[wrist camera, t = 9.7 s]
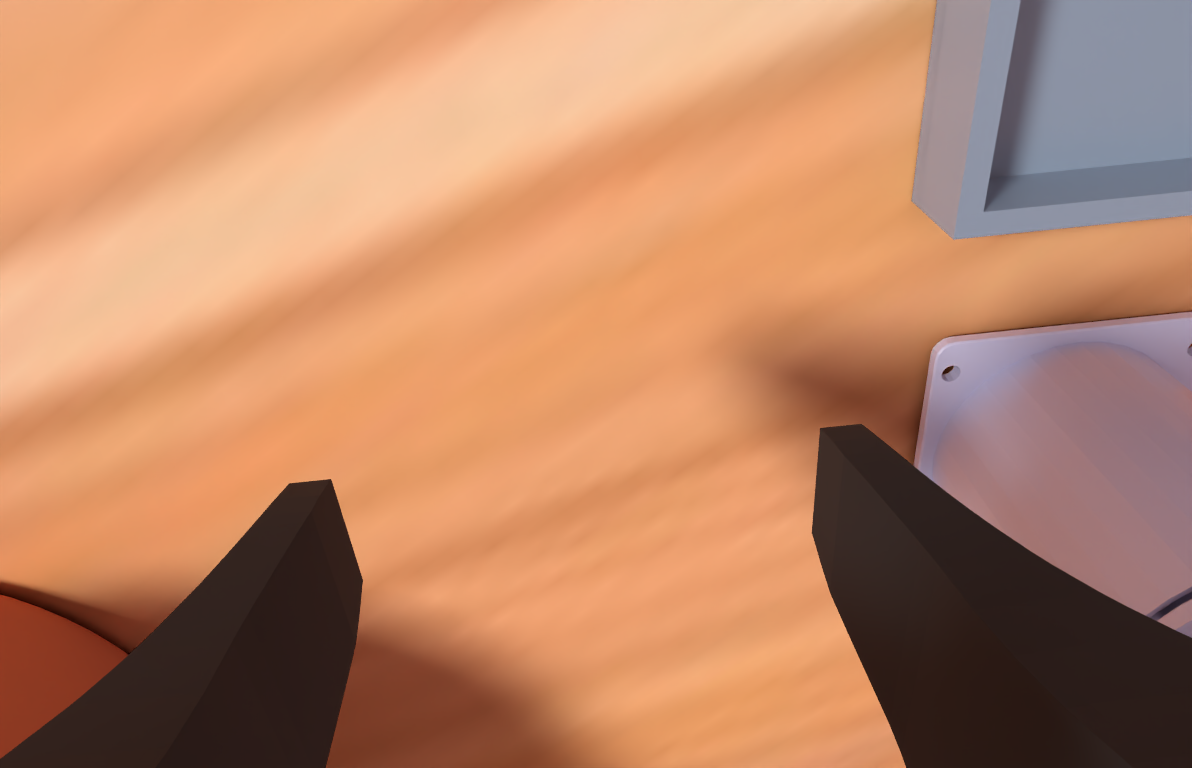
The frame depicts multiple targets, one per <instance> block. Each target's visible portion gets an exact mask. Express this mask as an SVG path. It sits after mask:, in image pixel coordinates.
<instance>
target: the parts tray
mask: <svg viewBox="0 0 1192 768" xmlns="http://www.w3.org/2000/svg"><path fill="white" fill-rule="evenodd" d="M912 202H913V203H914V204H915V205H916V206H918V207H919V208H920V209H921V210H922V211H923V212H924V213H925V214H926V215H927V216H928V217H929V218H931V219H932V220H933V221H934V222H935V223H936V224H937V225H938V226H939V227H940V228H941V229H942V230H944V231H945V232H946V233H947V234H948V235H949V236H950V237H951V238H952V239H963V238H973V237H983V236H993V235H1002V234H1012V233H1022V232H1032V231H1041V230H1051V229H1061V228H1071V227H1081V226H1090V225H1100V224H1110V223H1120V222H1130V221H1139V220H1149V219H1159V218H1169V217H1179V216H1188V215H1192V0H937V5H936V13H935V21H934V29H933V36H932V44H931V52H930V60H929V68H928V76H927V84H926V92H925V99H924V107H923V115H922V123H921V131H920V139H919V147H918V155H917V162H916V170H915V178H914V186H913V194H912Z"/></svg>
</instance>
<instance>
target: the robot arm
mask: <svg viewBox="0 0 1192 768" xmlns="http://www.w3.org/2000/svg"><path fill="white" fill-rule="evenodd" d="M1190 344H1192V312H1183V313H1173V314H1164V315H1154V316H1144V317H1135V318H1125V319H1116V320H1106V321H1096V322H1087V323H1077V324H1067V325H1058V326H1048V327H1039V328H1029V329H1019V330H1010V331H1000V332H990V333H981V334H971V335H962V336H952V337H948V338H944V339H942V340H941V341H939V342H938V343H937V344H936V345H935V346H934V347H933V350H932V352H931V356H930V363H929V369H928V375H927V382H926V388H925V395H924V401H923V408H922V414H921V420H920V427H919V433H918V440H917V446H916V453H915V459H914V465H912V464H911V463H909V462H908V461H907V460H906V459H904V458H903V457H902V456H901V455H899V454H898V453H897V452H896V451H895V450H893V449H892V448H891V447H890V446H888V445H887V444H886V443H885V442H884V441H882V440H881V439H880V438H879V437H877V436H876V435H875V434H874V433H872V432H871V431H870V430H869V429H867V428H866V427H865V426H863V425H862V424H856V425H846V426H837V427H827V428H820V438H819V451H818V463H817V476H816V488H815V500H814V513H813V525H812V534H813V538H814V541H815V545H816V548H817V551H818V555H819V558H820V562H821V565H822V568H823V572H824V575H825V578H826V581H827V584H828V587H829V591H830V593H831V596H832V598H833V600H834V603H835V605H836V607H837V609H838V612H839V614H840V616H841V618H842V621H843V623H844V625H845V627H846V629H847V632H848V634H849V636H850V638H851V641H852V643H853V645H854V647H855V649H856V652H857V654H858V656H859V658H860V660H861V663H862V665H863V667H864V669H865V671H866V674H867V676H868V678H869V680H870V682H871V685H872V687H873V689H874V691H875V693H876V696H877V698H878V700H879V702H880V704H881V707H882V709H883V711H884V713H885V715H886V718H887V720H888V722H889V724H890V727H891V729H892V732H893V734H894V736H895V739H896V741H897V744H898V746H899V749H900V751H901V754H902V757H903V760H904V762H905V765H906V768H1192V346H1191V347H1190V348H1188V347H1189V346H1190ZM949 366H954V368H953V370H951V371H950V372H949V373H947V374H942V373H943V371H944V370H945V369H946V368H947V367H949ZM362 583H363V579H362V576H361V573H360V570H359V566H358V563H357V560H356V557H355V554H354V551H353V547H352V544H351V541H350V538H349V535H348V532H347V528H346V525H345V522H344V519H343V516H342V512H341V509H340V506H339V503H338V500H337V497H336V493H335V490H334V487H333V484H332V481H331V479H328V480H319V481H309V482H299V483H290V484H289V485H288V486H287V487H286V488H285V489H284V490H283V491H282V492H281V493H280V494H279V496H278V497H277V498H276V499H275V500H274V501H273V502H272V503H271V505H270V506H269V507H268V508H267V509H266V510H265V512H264V513H263V514H262V515H261V516H260V517H259V518H258V520H257V521H256V522H255V523H254V524H253V525H252V526H251V528H250V529H249V530H248V531H247V532H246V533H245V534H244V536H243V537H242V538H241V539H240V540H239V541H238V542H237V544H236V545H235V546H234V547H233V548H232V549H231V550H230V551H229V553H228V554H227V555H226V556H225V557H224V558H223V559H222V560H221V561H220V563H219V564H218V565H217V566H216V567H215V568H214V569H213V570H212V571H211V573H210V574H209V575H208V576H207V577H206V578H205V579H204V580H203V581H202V582H201V584H200V585H199V586H198V587H197V588H196V589H195V590H194V591H193V592H192V593H191V594H190V595H189V596H188V597H187V598H186V599H185V600H184V601H183V602H182V603H181V604H180V605H179V606H178V607H177V608H176V609H175V610H174V611H173V612H172V613H171V614H170V615H169V616H168V617H167V618H166V619H165V620H164V621H163V622H162V623H161V624H160V625H159V626H158V627H157V628H156V629H155V630H154V631H153V632H152V633H151V634H150V635H149V636H148V637H147V638H146V639H145V640H144V641H143V642H142V643H141V644H140V645H139V646H138V647H137V648H136V649H134V650H133V651H132V652H131V653H130V654H129V655H128V656H127V657H126V658H125V659H123V660H122V661H121V662H120V663H119V664H118V665H117V666H116V667H115V668H113V669H112V670H111V671H110V672H109V673H108V674H106V675H105V676H104V677H103V678H102V679H101V680H99V681H98V682H97V683H96V684H95V685H94V686H92V687H91V688H90V689H89V690H88V691H87V692H86V693H84V694H83V695H82V696H81V697H80V698H78V699H77V700H76V701H75V702H73V703H72V704H71V705H70V706H69V707H67V708H66V709H65V710H63V711H62V712H61V713H59V714H58V715H57V716H55V717H54V718H53V719H52V720H50V721H49V722H48V723H46V724H45V725H44V726H42V727H41V728H40V729H39V730H37V731H36V732H35V733H33V734H32V735H31V736H29V737H28V738H27V739H25V740H24V741H23V742H22V743H20V744H19V745H18V746H16V747H15V748H14V749H12V750H11V751H10V752H9V753H7V754H6V755H5V756H3V757H2V758H1V759H0V768H326V764H327V760H328V756H329V751H330V747H331V743H332V739H333V735H334V731H335V727H336V723H337V719H338V715H339V711H340V707H341V703H342V699H343V695H344V691H345V687H346V683H347V679H348V675H349V671H350V666H351V662H352V658H353V654H354V649H355V645H356V638H357V630H358V622H359V614H360V603H361V593H362Z"/></svg>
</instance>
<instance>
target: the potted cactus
mask: <svg viewBox="0 0 1192 768" xmlns="http://www.w3.org/2000/svg"><path fill="white" fill-rule="evenodd" d="M127 656H128V654H127V653H125V652H124V651H122V650H121V649H119V648H118V647H117V646H115V645H114V644H112V643H110V642H109V641H107V640H105V639H103V638H102V637H100V636H98V635H97V634H95V633H93V632H92V631H90V630H88V629H86V628H84V627H82V626H80V625H78V624H76V623H74V622H72V621H70V620H68V619H66V618H64V617H61V616H59V615H57V614H54V613H52V612H49V611H47V610H45V609H42V608H40V607H37V606H34V605H31V604H29V603H26V602H23V601H20V600H17V599H14V598H11V597H8V596H4V595H0V759H1V758H2V757H3V756H5V755H6V754H7V753H9V752H10V751H11V750H12V749H14V748H15V747H16V746H18V745H19V744H20V743H22V742H23V741H24V740H25V739H27V738H28V737H29V736H31V735H32V734H33V733H35V732H36V731H37V730H39V729H40V728H41V727H42V726H44V725H45V724H46V723H48V722H49V721H50V720H52V719H53V718H54V717H55V716H57V715H58V714H59V713H61V712H62V711H63V710H65V709H66V708H67V707H69V706H70V705H71V704H72V703H73V702H75V701H76V700H77V699H78V698H80V697H81V696H82V695H83V694H84V693H86V692H87V691H88V690H89V689H90V688H91V687H92V686H94V685H95V684H96V683H97V682H98V681H99V680H101V679H102V678H103V677H104V676H105V675H106V674H108V673H109V672H110V671H111V670H112V669H113V668H115V667H116V666H117V665H118V664H119V663H120V662H121V661H122V660H123V659H125V658H126V657H127Z"/></svg>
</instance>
